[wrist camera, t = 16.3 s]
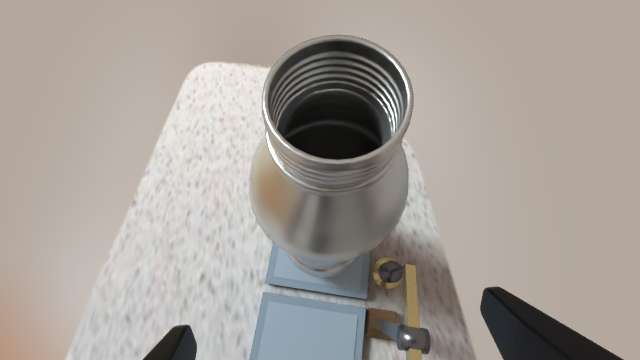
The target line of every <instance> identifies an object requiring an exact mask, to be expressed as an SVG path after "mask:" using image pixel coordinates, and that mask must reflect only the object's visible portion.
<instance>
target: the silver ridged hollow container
mask: <svg viewBox="0 0 640 360" xmlns="http://www.w3.org/2000/svg"><path fill="white" fill-rule="evenodd" d="M412 110H413V90H412V86H411V81H410V79H409V77H408V75H407V73H406V71H405V69H404V68H403V66H402V65H401V64H400V62H399V61H398V60H397V59H396V58H395V57H394V56H393V55H392V54H391V53H389V51H387V50H386V49H384V48H382V47H381V46H379V45H378V44H376V43H373V42H371V41H368V40H366V39H363V38H359V37H354V36H347V35H329V36H322V37H317V38H313V39H310V40H308V41H305V42H303V43H300V44H298V45H297V46H295V47H293V48H292V49H290V50H289V51H287V52H286V53H285V54H284V55H283V56H282V57H281V58H280V59H279V60H277V62H276V63H275V65H274V66H273V67H272V69H271V70H270V72H269V74H268V76H267V78H266V80H265V83H264V88H263V92H262V115H263V119H264V123H265V127H266V134H265V135H264V137H263V138H262V140H261V141H260V143H259V145H258V147H257V149H256V152H255V154H254V157H253V161H252V166H251V171H250V177H249V196H250V201H251V206H252V210H253V213H254V215H255V217H256V219H257V222H258V224H259V225H260V227H261V228H262V229H263V231H264V232H265V234H266V235H267V236H268V238H270V239H271V240H272V241H273V242H274V243H275V244H276V245H277V246H278V247H280V248H281V249H283V250H284V251H286V253H287V256H288V258H289V259H290V260H291V262H292V263H293V264H294V265H295V266H296V267H297V268H298V269H299V270H301V271H302V272H304V273H306V274H308V275H311V276H314V277H332V276H335V275H338V274H341V273H342V272H344V271H346V270H347V269H349V268H350V267H351V266H352V265H353V264H354V263H355V262H356V260H357V259H358V258H359V256H362V255H364V254H365V253H367V252H369V251H370V250H372V249H374V248H376V247H377V246H378V245H379V244H380V243H381V242H382V241H384V240H385V239H386V238H387V237H388V236H389V235H390V233H391V232H392V231H393V229H394V228H395V226H396V225H397V224H398V222H399V220H400V218H401V216H402V213H403V211H404V209H405V205H406V200H407V196H408V165H407V160H406V155H405V152H404V150H403V148H402V145H401V143H402V139H403V136H404V134H405V132H406V130H407V128H408V126H409V124H410V119H411V115H412Z"/></svg>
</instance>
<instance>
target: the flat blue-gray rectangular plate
mask: <svg viewBox="0 0 640 360" xmlns="http://www.w3.org/2000/svg"><path fill="white" fill-rule="evenodd" d="M370 255H371V250H370V251H369V252H367V253H365V254H364V255H362V256H359V258H358V259H357V260H356V262H355V263H354V264H353V265H352V266H351V267H350V268H349V269H347V270H346V271H344V272H342V273H341V274H338V275H335V276H332V277H314V276H311V275H308V274H306V273H304V272H302V271H301V270H299V269H298V268H297V267H296V266H295V265H294V264H293V263H292V262H291V260H290V259H289V258H288V256H287V253H286V251H284V250H283V249H281V248H280V247H278V246H277V245H276V244H275V243H274V242H273V246H272V251H271V256H270V261H269V266H268V271H267V275H266V280H265V283H267V284H274V285H280V286H286V287H293V288H299V289H305V290H311V291H318V292H324V293H330V294H337V295H343V296H349V297H356V298H362V299H367V290H368V278H369V266H370Z"/></svg>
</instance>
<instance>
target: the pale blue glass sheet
mask: <svg viewBox="0 0 640 360" xmlns="http://www.w3.org/2000/svg"><path fill="white" fill-rule="evenodd" d="M365 313H366V308H361V307H354V306H348V305H342V304H336V303H329V302H323V301H317V300H311V299H304V298H298V297H292V296H286V295H279V294H273V293H267V292H263V295H262V300H261V305H260V310H259V315H258V320H257V325H256V330H255V335H254V340H253V345H252V349H251V354H250V359H249V360H362V348H363V337H364V325H365Z"/></svg>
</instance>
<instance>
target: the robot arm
mask: <svg viewBox="0 0 640 360" xmlns="http://www.w3.org/2000/svg"><path fill="white" fill-rule="evenodd" d="M480 308H481V309H480V310H481V314H482V316H483V318H484V320H485V322H486V324H487V327H488V329H489V331H490V333H491V335H492V337H493V339H494V341H495V343H496V345H497V347H498V349H499V351H500V353H501V355H502V357H503V359H504V360H623V359H621V358H620V357H618V356H616V355H615V354H613V353H611V352H609V351H608V350H606V349H604V348H603V347H601V346H599V345H597V344H596V343H594V342H593V341H591V340H589V339H587V338H586V337H584V336H582V335H581V334H579V333H577V332H576V331H574V330H572V329H570V328H569V327H567V326H565V325H564V324H562V323H560V322H558V321H557V320H555V319H553V318H552V317H550V316H548V315H546V314H545V313H543V312H542V311H540V310H538V309H536V308H535V307H533V306H531V305H530V304H528V303H526V302H524V301H523V300H521V299H519V298H518V297H516V296H514V295H513V294H511V293H509V292H508V291H506V290H504V289H502V288H500V287H489V288H485V289H484V291H483V296H482V301H481V306H480ZM196 352H197V344H196V340H195V338H194V335H193V332H192V329H191V327H190V326H189V325H179V326H175V327H173V328H172V329H171V330H170V331H169V332H168V333H167V334H166V335H165V336H164V338H163V339H162V340H161V341H160V342H159V343H158V344H157V345H156V346H155V347H154V348H153V349H152V350H151V351H150V352H149V353H148V355H147V356H146V357H145V358H144V359H143V360H195V357H196Z"/></svg>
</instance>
